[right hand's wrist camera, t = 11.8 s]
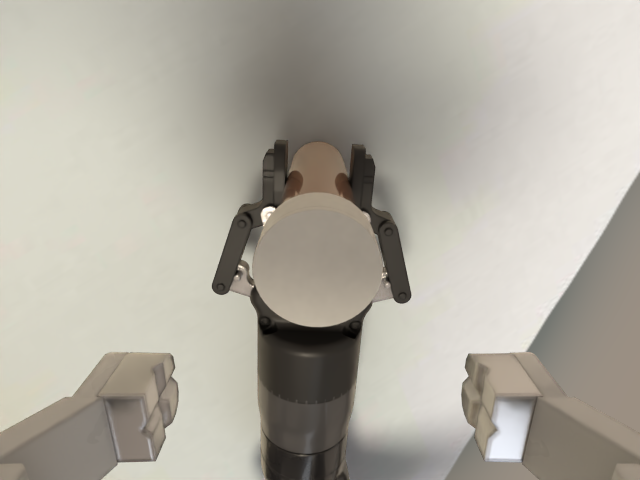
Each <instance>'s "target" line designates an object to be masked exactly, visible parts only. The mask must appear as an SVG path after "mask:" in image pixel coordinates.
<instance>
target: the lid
mask: <svg viewBox="0 0 640 480" xmlns="http://www.w3.org/2000/svg"><path fill="white" fill-rule="evenodd" d="M252 270H253V278H254V283H255V286H256V289H257V291H258V293H259V295H260V297H261V298H262V299H263V301H264V302H265V303H266V305H267V306H268V307H269V308H270V309H271V310H272V311H274V312H275V313H276V314H277V315H279V316H281V317H282V318H284V319H286V320H288V321H290V322H293V323H295V324H299V325H303V326H309V327H326V326H332V325H337V324H340V323H343V322H345V321H347V320H349V319H351V318H353V317H355V316H356V315H358V314H359V313H360V312H361V311H363V310H364V309H365V308H366V307H367V306H368V305H369V304H370V302H371V301H372V300H373V298H374V297H375V295H376V293H377V291H378V289H379V286H380V283H381V279H382V272H383V264H382V257H381V252H380V249H379V247H378V244H377V241H376V238H375V235H374V232H373V229H372V227H371V224H370V222H369V221H368V219H367V217H366V216H365V215H364V213H363V212H362V211H361V210H360V209H359V208H358V207H357V206H355V205H354V204H353V203H352V202H350V201H348V200H346V199H345V198H342V197H340V196H337V195H333V194H330V193H322V192H313V193H306V194H302V195H298V196H296V197H293V198H291V199H289V200H287V201H285V202H284V203H282V204H281V205H280V206H278V207H277V208H276V209H275V210H274V211H273V212H272V214H271V215H270V216H269V218H268V219H267V221H266V223H265V225H264V227H263V230H262V233H261V236H260V238H259V241H258V244H257V247H256V250H255V253H254V257H253V265H252Z"/></svg>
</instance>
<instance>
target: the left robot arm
mask: <svg viewBox="0 0 640 480" xmlns="http://www.w3.org/2000/svg"><path fill="white" fill-rule="evenodd" d="M287 164H288V140H276V142H275V145H274V149H268V151H267V153H266V155H265V157H264V160H263V199H262V200H261V201H260V202H258V203H254V204H244V205H242V206H241V207H240V209H239V211H238V213H237V215H236V216H235V217H234V219H233V222H232V225H231V228H230V231H229V234H228V237H227V240H226V243H225V246H224V249H223V252H222V255H221V259H220V262H219V265H218V268H217V271H216V274H215V277H214V280H213V283H212V289H213V291H214V292H215V293H217V294H219V295H224V294H226V293H228V292H229V290H230V291H233V292H236V293H239V294H243V295H246V296H249V297H250V300H251V303H252V305H253V306H254V308H255V309H256V312H257V316H258V405H259V411H260V417H261V466H262V471H263V475H264V477H265V480H350V478H349V473H348V469H347V464H346V459H345V453H346V444H347V434H348V425H349V420H350V416H351V413H352V409H353V405H354V398H355V389H356V380H357V370H358V361H359V352H360V343H361V333H362V324H363V319H364V317H365V315H366V313H367V312H368V311H369V310H370V308H371V306H372V303H373V302H377V301H382V300H386V299H390V298H394V300H395V301H396V302H397V303H406V302H408V301H409V300H410V298H411V291H410V286H409V281H408V276H407V271H406V267H405V262H404V257H403V252H402V247H401V243H400V238H399V233H398V229H397V226H396V224H395V222H394V220H393V218H392V216H391V215H390V213H388V212H386V211H380V210H377V209H375V208H373V207H372V206H371V203H372V194H373V183H374V175H375V165H374V161H373V158H372V157H371V155H367V154H366V148H365V147H364V145H357V144H352V150H351V162H350V174H349V182H350V186H351V189H352V193H353V196H354V200H355V203H356V206H357V207H358V208H359V209H360V210H361V211H362V212H363V213H364V215H365V216H366V217H367V219H368V221H369V222H370V224H371V227H372V229H373V232H374V233H375V234H377V235H378V239H379V243H380V248H381V252H382V257H383V261H384V265H385V267H383V272H382V279H381V283H380V286H379V289H378V291H377V293H376V295H375V297H374V298H373V300H372V301H371V302H370V304H369V305H368V306H367V307H366V308H365V309H364V310H363V311H361V312H360V313H359V314H358V315H356V316H355V317H353V318H351V319H349V320H347V321H345V322H343V323H340V324H337V325H332V326H326V327H309V326H303V325H299V324H295V323H293V322H290V321H288V320H286V319H284V318H282V317H281V316H279V315H277V314H276V313H275V312H274V311H272V310H271V309H270V308H269V307H268V306H267V305H266V303H265V302H264V301H263V299H262V298H261V297H260V295H259V293H258V291H257V289H256V286H255V283H254V279H252V278H251V276H250V274H249V269H250V268H249V265H248V263H247V262H246V261H244V260H241V258H242V255H243V252H244V249H245V246H246V243H247V241H248V238H249V235H250V232H251V229H252V228H256V227H259V226H264V225H265V223H266V221H267V219H268V218H269V216H270V215H271V214H272V212H273V211H274V210H275V209H276V208H277V207H278V206H279V205H280V201H281V198H282V194H283V191H284V187H285V184H286V180H287Z"/></svg>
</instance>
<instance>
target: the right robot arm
mask: <svg viewBox="0 0 640 480" xmlns="http://www.w3.org/2000/svg"><path fill="white" fill-rule="evenodd" d="M174 369H175V364H174V359H173V356H172V355H171V354H170V353H133V352H131V353H128V352H110V353H108V354H105V355H104V356H103V358H102V359H101V360H100V362H99V363H98V364H97V365H96V367H95V368H94V369H93V371H92V372H91V373H90V374H89V376H88V377H87V378H86V380H85V381H84V382H83V383H82V385H81V386H80V387H79V389H78V390H77V391H76V392H75V394H74V395H73V396H72V397H65V398H63V399H61V400H59V401H57V402H55V403H54V404H52V405H50V406H48V407H46V408H44V409H43V410H41V411H39V412H37V413H35V414H34V415H32V416H30V417H28V418H26V419H24V420H23V421H21V422H19V423H17V424H15V425H13V426H12V427H10V428H8V429H6V430H4V431H2V432H1V433H0V480H101V479H102V478H103V477H104V476H105V475H106V474H108V473H109V472H110V471H111V470H112V469H113V468H114V467H115V466H116V465H117V462H147V461H156V459H157V457H158V455H159V452H160V450H161V448H162V445H163V443H164V441H165V438H166V435H165V428H166V427H167V426H169V425H170V424H171V423H172V422H173V420H174V417H175V415H176V411H177V406H178V384H177V382H176V381H175V380H174V379H173V378H172V377H171V375H172V373H173V371H174ZM465 369H466V371H467V373H468V375H469V377H468V378H467V379H466V380H465V381H464V382H463V384H462V393H461V396H462V407H463V411H464V415H465V417H466V420H467V422H468V423H469V424H470V425H471V426H473V427H474V428H475V435H474V438H475V441H476V443H477V445H478V448H479V450H480V452H481V455H482V457H483V459H484V461H493V462H523V465H524V466H525V467H526V468H527V469H528V470H529V471H530V472H532V473H533V474H534V475H535V476H536V477H537V478H538V479H539V480H640V433H639V432H637V431H636V430H634V429H632V428H630V427H628V426H626V425H625V424H623V423H621V422H619V421H617V420H615V419H614V418H612V417H610V416H608V415H606V414H605V413H603V412H601V411H599V410H597V409H595V408H594V407H592V406H590V405H588V404H586V403H585V402H583V401H581V400H579V399H577V398H575V397H568V396H567V395H566V394H565V392H564V391H563V390H562V389H561V387H560V386H559V385H558V384H557V382H556V381H555V380H554V378H553V377H552V376H551V375H550V373H549V372H548V371H547V369H546V368H545V367H544V366H543V364H542V363H541V362H540V361H539V359H538V358H537V357H536V355H535V354H533V353H531V352H518V353H494V354H468V356H467V358H466V364H465Z"/></svg>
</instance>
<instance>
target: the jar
mask: <svg viewBox="0 0 640 480" xmlns="http://www.w3.org/2000/svg"><path fill="white" fill-rule="evenodd" d="M313 192H322V193H330V194H333V195H337V196H340V197H342V198H345V199H346V200H348V201H350V202H352V203H353V204H354V205H355V206H356V203H355V200H354V196H353V193H352V189H351V186H350V182H349V178H348V175H347V171H346V168H345V164H344V161H343V158H342V156H341V154H340V153H339V151H338V150H337V149H336V148H335V147H334V146H332V145H330V144H328V143H325V142H320V141H315V142H310V143H307V144H305V145H304V146H302V147H301V148H300V149H299V150H298V151H297V152H296V153H295V155H294V157H293V160H292V163H291V167H290V170H289V174H288V177H287V180H286V184H285V187H284V191H283V194H282V198H281V201H280V205H281V204H282V203H284V202H285V201H287V200H289V199H291V198H293V197H296V196H298V195H302V194H306V193H313ZM280 205H279V206H280Z"/></svg>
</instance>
